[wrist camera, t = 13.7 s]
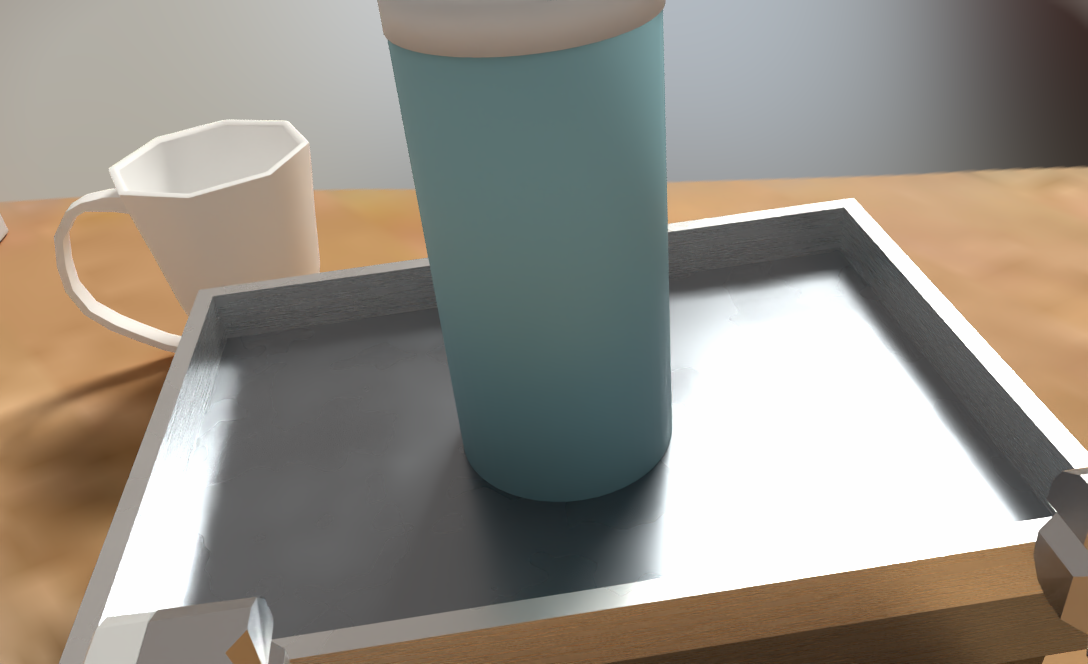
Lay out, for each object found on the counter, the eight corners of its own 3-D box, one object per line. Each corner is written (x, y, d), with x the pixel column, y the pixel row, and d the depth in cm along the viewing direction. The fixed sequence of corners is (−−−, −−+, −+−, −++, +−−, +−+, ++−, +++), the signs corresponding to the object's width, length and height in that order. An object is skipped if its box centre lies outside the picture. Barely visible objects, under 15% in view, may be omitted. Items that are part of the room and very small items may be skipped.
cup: (350, 382, 35) (297, 181, 30) (76, 421, 34) (-18, 223, 30) (360, 286, 40) (317, 106, 36) (126, 318, 40) (53, 140, 36)
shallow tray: (163, 883, 20) (45, 698, 16) (255, 452, 31) (199, 289, 28) (1075, 729, 21) (1152, 522, 17) (837, 366, 32) (853, 198, 29)
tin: (466, 519, 21) (369, 25, 15) (456, 380, 25) (378, -47, 19) (698, 483, 21) (697, -17, 15) (648, 351, 26) (632, -79, 20)
